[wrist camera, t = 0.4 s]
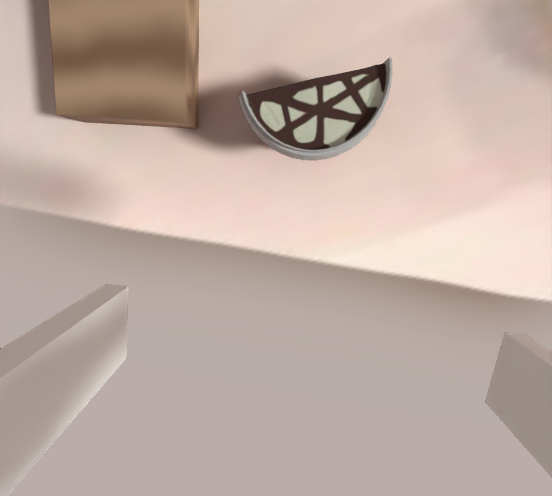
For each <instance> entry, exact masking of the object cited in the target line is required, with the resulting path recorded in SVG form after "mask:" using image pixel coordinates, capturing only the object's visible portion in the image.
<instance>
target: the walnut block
mask: <svg viewBox="0 0 552 496" xmlns="http://www.w3.org/2000/svg"><path fill="white" fill-rule="evenodd" d="M48 2H49V17H50V31H51V45H52V59H53V73H54V87H55V101H56V114H57V115H61V116H64V117H68V118H71V119H75V120H79V121H82V122H88V123H106V124H124V125H142V126H160V127H178V128H196V129H198V53H199V0H48Z"/></svg>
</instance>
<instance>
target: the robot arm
mask: <svg viewBox="0 0 552 496" xmlns="http://www.w3.org/2000/svg"><path fill="white" fill-rule="evenodd" d="M127 316H128V286H120V285H112V284H105V285H104V286H102V287H100V288H99V289H97V290H96V291H94V292H92V293H91V294H89V295H88V296H86V297H84V298H83V299H81V300H79V301H78V302H76V303H75V304H73V305H71V306H69V307H68V308H66V309H65V310H63V311H61V312H60V313H58V314H56V315H55V316H53V317H52V318H50V319H48V320H47V321H45V322H43V323H42V324H40V325H39V326H37V327H35V328H34V329H32V330H30V331H29V332H27V333H25V334H24V335H22V336H21V337H19V338H17V339H16V340H14V341H12V342H11V343H9V344H7V345H6V346H4V347H3V348H0V496H8V495H9V494H10V493H11V492H12V491H13V489H14V488H15V487H16V486H17V485H18V484H19V482H20V481H21V480H22V479H23V478H24V476H25V475H26V474H27V473H28V472H29V471H30V469H31V468H32V467H33V466H34V465H35V464H36V463H37V461H38V460H39V459H40V458H41V457H42V456H43V455H44V453H45V452H46V451H47V449H49V447H50V446H51V445H52V444H53V443H54V442H55V440H56V439H57V438H58V437H59V436H60V435H61V434H62V432H63V431H64V430H65V429H66V428H67V427H68V425H69V424H70V423H71V422H72V421H73V420H74V419H75V417H76V416H77V415H78V414H79V413H80V411H81V410H82V409H83V408H84V407H85V406H86V405H87V403H88V402H89V401H90V400H91V399H92V397H93V396H94V395H95V394H96V393H97V392H98V391H99V389H100V388H101V387H102V386H103V385H104V384H105V382H106V381H107V380H108V379H109V378H110V377H111V375H112V374H113V373H114V372H115V371H116V370H117V369H118V367H119V366H120V365H121V364H122V363H123V362H124V361H125V359H126V355H127ZM485 402H486V403H487V404H488V406H489V407H490V408H491V409H492V410H493V411H494V413H495V414H496V415H497V416H498V417H499V418H500V419H501V421H502V422H503V423H504V424H505V425H506V426H507V427H508V428H509V430H510V431H511V432H512V433H513V434H514V435H515V436H516V438H517V439H518V440H519V441H520V442H521V443H522V444H523V445H524V447H525V448H526V449H527V450H528V451H529V452H530V453H531V455H532V456H533V457H534V458H535V459H536V460H537V461H538V463H540V465H541V466H542V467H543V468H544V469H545V470H546V472H547V473H548V474H549V475H550V476H551V477H552V351H550V350H549V349H547V348H546V347H544V346H542V345H541V344H539V343H538V342H537V341H535V340H534V339H532V338H531V337H529V336H528V335H524V334H516V333H508V332H505V333H504V337H503V340H502V344H501V347H500V350H499V354H498V357H497V361H496V365H495V368H494V372H493V375H492V379H491V382H490V386H489V389H488V393H487V396H486V400H485Z"/></svg>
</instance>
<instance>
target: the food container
mask: <svg viewBox="0 0 552 496" xmlns="http://www.w3.org/2000/svg"><path fill="white" fill-rule="evenodd" d="M391 79H392V59H391V57H389V58H388V59H387V60H386V61H385V62H384V63H383V64H380V65H374V66H371V67H368V68H364V69H359V70H355V71H350V72H345V73H340V74H336V75H330V76H325V77H320V78H315V79H311V80H307V81H303V82H299V83H295V84H291V85H287V86H283V87H279V88H274V89H270V90H265V91H261V92H257V93H252V94H248V95H247V94H246V93H245V92H244V91H242V93H240V94H239V98H238V99H239V102H240V105H241V109H242V111H243V113H244V116H245V118H246V120H247V122H248V123H249V125H250V126H251V128H252V129H253V131H254V132H255V133H256V134H257V136H258V137H259V138H260V139H261V140H262V141H263V142H264V143H266V144H267V145H268V146H269V147H271V148H272V149H274V150H276V151H277V152H279V153H281V154H283V155H286V156H289V157H291V158H296V159H301V160H321V159H328V158H331V157H334V156H338V155H340V154H342V153H344V152H346V151H348V150H350V149H351V148H352V147H354V146H355V145H357V144H358V143H359V142H360V141H361V140H362V139H364V138H365V137H366V136H367V135H368V133H369V132H370V131H371V130H372V128H373V127H374V126H375V124H376V123H377V121H378V119H379V117H380V116H381V114H382V111H383V109H384V106H385V104H386V101H387V98H388V95H389V91H390V87H391Z"/></svg>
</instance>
